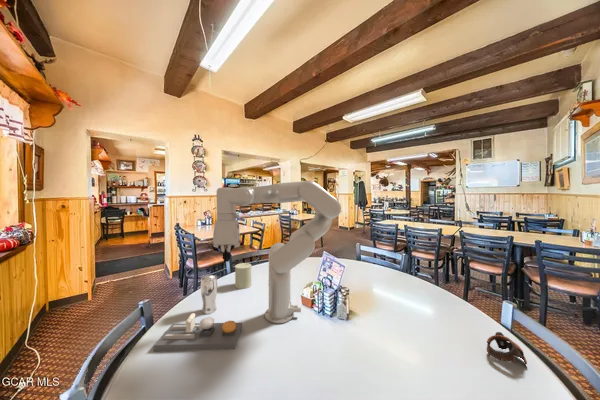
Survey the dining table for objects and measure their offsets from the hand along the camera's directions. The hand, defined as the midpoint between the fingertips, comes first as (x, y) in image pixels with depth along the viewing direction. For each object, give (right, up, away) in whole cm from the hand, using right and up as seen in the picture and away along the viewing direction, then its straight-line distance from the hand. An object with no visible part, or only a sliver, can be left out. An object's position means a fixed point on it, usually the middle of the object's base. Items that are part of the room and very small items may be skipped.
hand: (226, 260), depth 93 cm
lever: (-10, -24, -11) cm, 28 cm away
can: (-2, -24, +34) cm, 42 cm away
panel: (-6, -26, -11) cm, 28 cm away
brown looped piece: (+99, -27, -19) cm, 104 cm away
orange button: (+4, -23, -11) cm, 26 cm away
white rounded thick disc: (-4, -22, -11) cm, 25 cm away
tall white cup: (-10, -25, +8) cm, 28 cm away
